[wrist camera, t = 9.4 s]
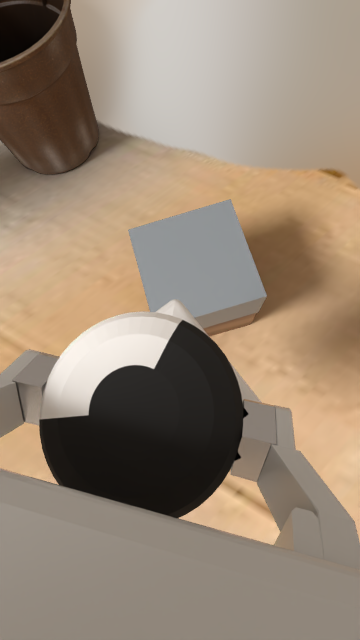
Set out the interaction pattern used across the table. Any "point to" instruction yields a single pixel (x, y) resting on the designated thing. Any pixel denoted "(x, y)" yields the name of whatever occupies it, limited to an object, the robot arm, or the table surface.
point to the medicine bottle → (144, 412)
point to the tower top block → (199, 264)
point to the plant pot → (43, 87)
